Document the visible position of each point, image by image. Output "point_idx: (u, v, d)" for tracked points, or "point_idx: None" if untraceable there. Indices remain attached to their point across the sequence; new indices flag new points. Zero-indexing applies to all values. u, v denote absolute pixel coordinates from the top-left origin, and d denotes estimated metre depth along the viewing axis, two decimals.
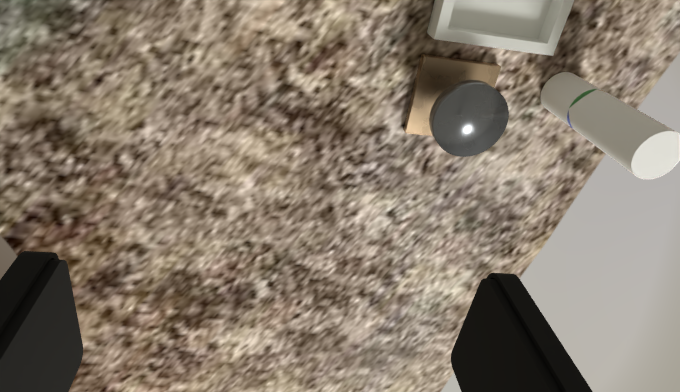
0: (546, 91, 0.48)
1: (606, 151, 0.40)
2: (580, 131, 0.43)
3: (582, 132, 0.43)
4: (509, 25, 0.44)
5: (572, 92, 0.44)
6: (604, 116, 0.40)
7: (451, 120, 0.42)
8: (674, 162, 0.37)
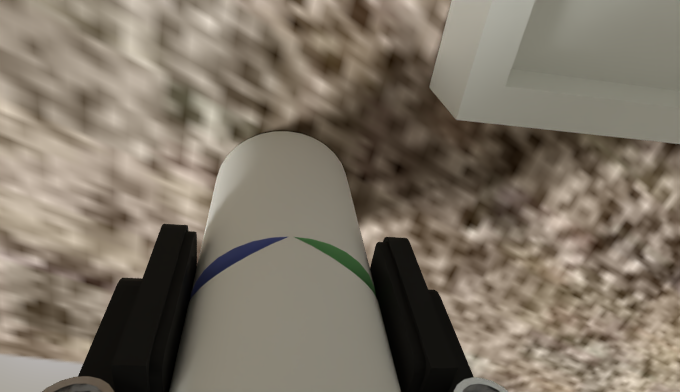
0: (293, 145, 0.13)
1: None
2: (213, 335, 0.08)
3: (214, 352, 0.07)
4: None
5: (345, 229, 0.11)
6: None
7: None
8: None
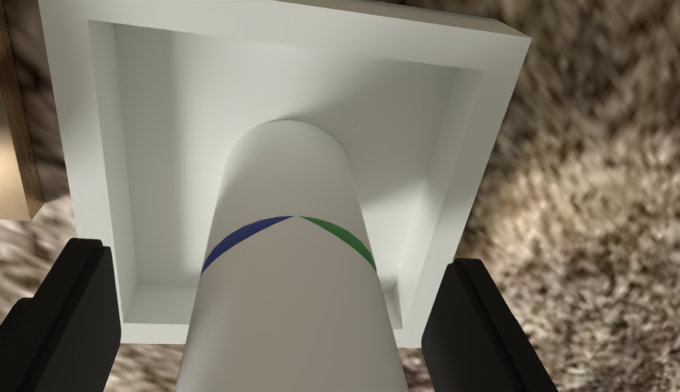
0: (298, 133, 0.14)
1: None
2: (224, 304, 0.08)
3: (226, 318, 0.08)
4: (156, 213, 0.16)
5: (348, 211, 0.11)
6: None
7: None
8: None
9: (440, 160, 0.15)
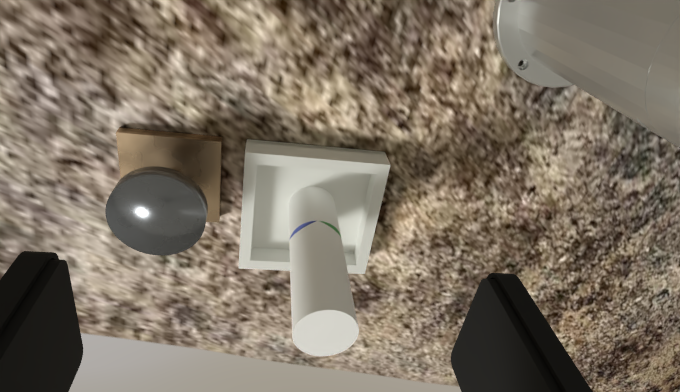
0: (316, 192, 0.40)
1: (303, 278, 0.32)
2: (302, 241, 0.35)
3: (303, 244, 0.35)
4: (262, 219, 0.43)
5: (332, 219, 0.38)
6: (337, 260, 0.33)
7: (154, 196, 0.33)
8: (315, 352, 0.31)
9: (367, 200, 0.42)
